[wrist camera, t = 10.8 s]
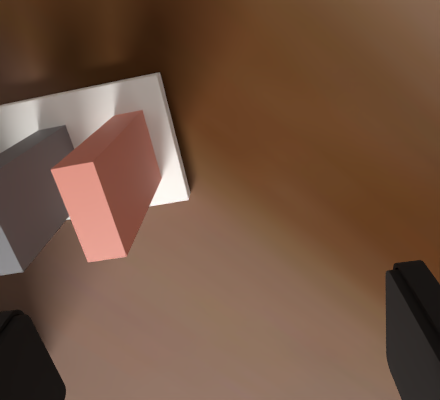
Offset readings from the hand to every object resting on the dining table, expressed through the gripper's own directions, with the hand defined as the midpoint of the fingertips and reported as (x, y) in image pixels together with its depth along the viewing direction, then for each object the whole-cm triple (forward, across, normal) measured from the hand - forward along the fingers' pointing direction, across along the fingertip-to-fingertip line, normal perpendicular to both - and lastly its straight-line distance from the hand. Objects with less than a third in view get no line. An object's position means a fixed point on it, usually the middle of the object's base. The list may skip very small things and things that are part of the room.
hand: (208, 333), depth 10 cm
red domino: (+19, +6, 0) cm, 20 cm away
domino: (+19, +12, 0) cm, 22 cm away
